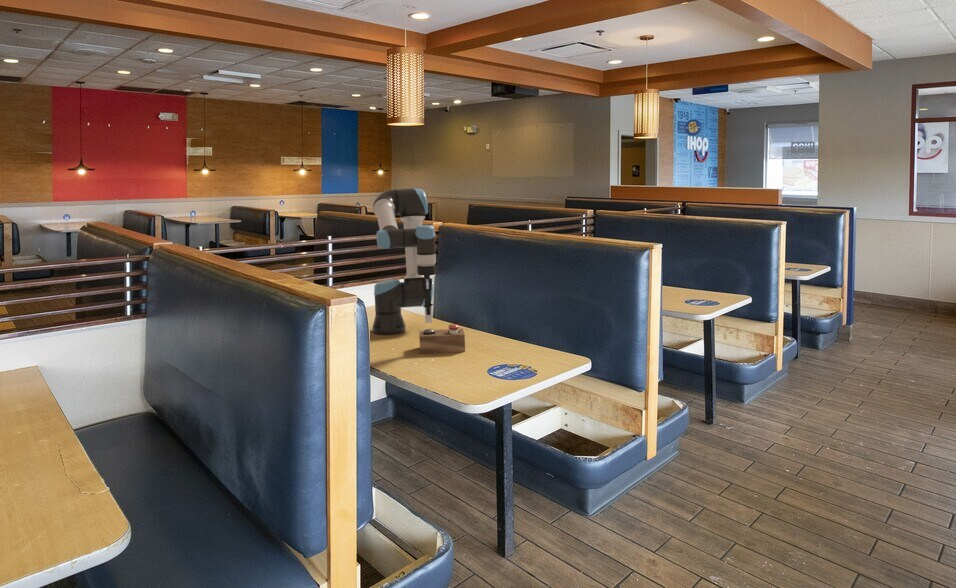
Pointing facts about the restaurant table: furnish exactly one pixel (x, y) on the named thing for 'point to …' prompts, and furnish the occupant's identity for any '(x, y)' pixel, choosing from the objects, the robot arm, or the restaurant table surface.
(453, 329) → the plug red
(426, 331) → the plug grey
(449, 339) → the block
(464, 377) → the restaurant table surface
